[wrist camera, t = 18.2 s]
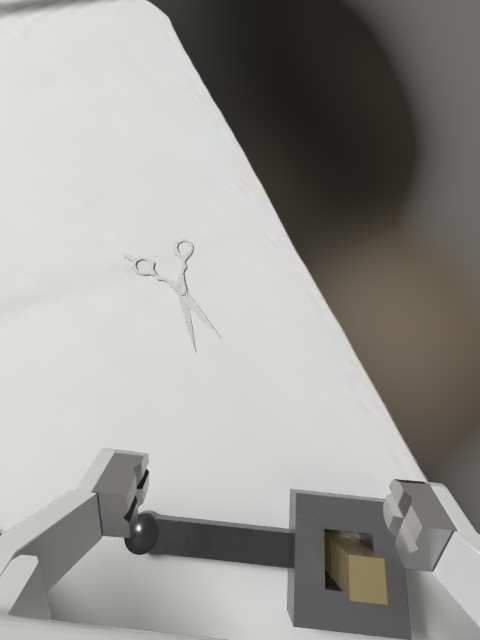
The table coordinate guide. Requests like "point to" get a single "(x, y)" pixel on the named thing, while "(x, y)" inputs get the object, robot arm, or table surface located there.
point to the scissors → (176, 287)
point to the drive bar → (355, 569)
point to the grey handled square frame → (296, 557)
